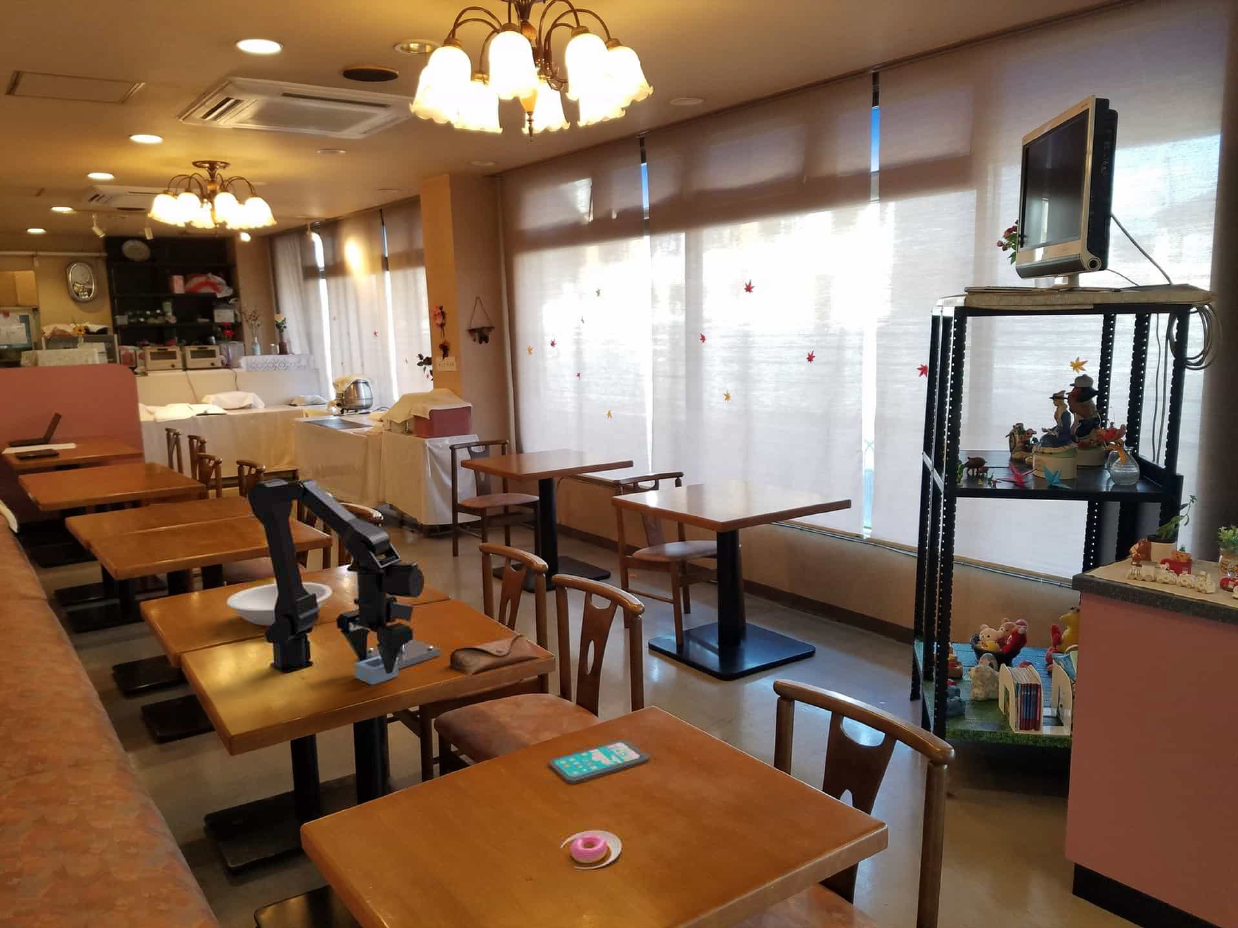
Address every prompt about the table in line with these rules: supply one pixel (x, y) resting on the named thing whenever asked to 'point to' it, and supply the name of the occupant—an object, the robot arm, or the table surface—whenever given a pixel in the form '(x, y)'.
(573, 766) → the smartphone
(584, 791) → the table surface
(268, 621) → the soup bowl
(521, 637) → the sunglasses case
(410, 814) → the table surface
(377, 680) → the blue square ring
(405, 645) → the keeper plate
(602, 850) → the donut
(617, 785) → the table surface
